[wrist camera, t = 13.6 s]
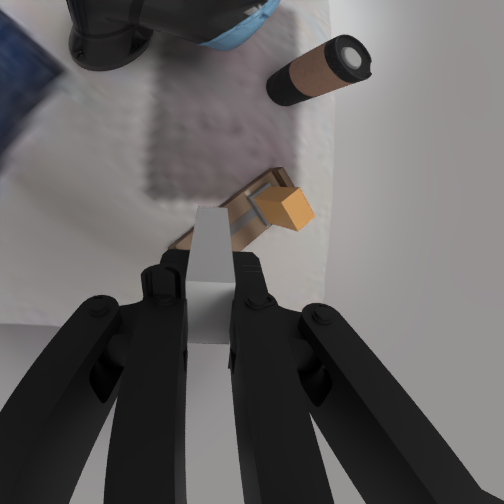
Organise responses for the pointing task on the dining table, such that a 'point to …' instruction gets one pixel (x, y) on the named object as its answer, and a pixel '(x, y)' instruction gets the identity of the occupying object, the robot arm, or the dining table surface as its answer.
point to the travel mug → (320, 71)
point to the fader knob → (281, 206)
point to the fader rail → (243, 212)
